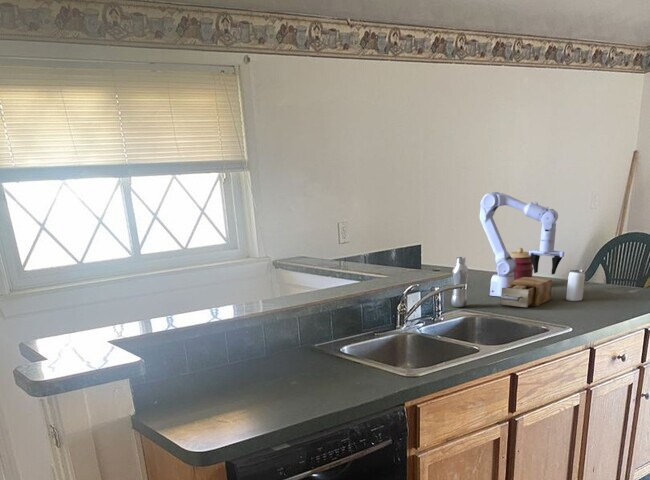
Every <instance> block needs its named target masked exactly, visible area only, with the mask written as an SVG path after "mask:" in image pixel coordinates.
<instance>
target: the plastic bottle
mask: <svg viewBox="0 0 650 480" xmlns="http://www.w3.org/2000/svg"><path fill="white" fill-rule="evenodd" d="M466 261H467V260H466V257H465V256H458V257H456V260H455V263H456V264H455V265H454V267H453V268H452V284H453V285H456V284H466V285H467V281H468V275H469V268H468V266H467V265H466ZM453 285H452V286H453ZM450 303H451V306H452V307H456V308H463V307H466V305H467V303H468V296H467V288H466V289H454V290H453V289H452V295H451V300H450Z"/></svg>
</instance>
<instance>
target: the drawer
mask: <svg viewBox="0 0 650 480" xmlns="http://www.w3.org/2000/svg"><path fill="white" fill-rule="evenodd" d="M514 286H516V285H511V286H509V287H506V288H505V287H503V288H502V292H501V297H500V305H503V306H511V307H520V308H529V306H531V305H530V304H532V303H534V302H535V294H536V287H534V286H526V289H515V288H513V287H514ZM519 286H523V285H519Z"/></svg>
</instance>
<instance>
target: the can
mask: <svg viewBox="0 0 650 480" xmlns="http://www.w3.org/2000/svg"><path fill="white" fill-rule="evenodd" d="M585 279H586V273H585V270H582V269H571V270H570V271H569V273H568V277H567V286H566V295H565V300H566V301H568V302H582V300H583V296H584V288H585V281H586V280H585Z"/></svg>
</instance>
